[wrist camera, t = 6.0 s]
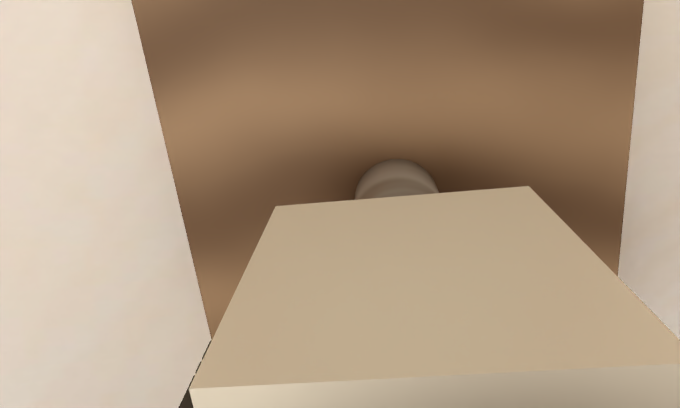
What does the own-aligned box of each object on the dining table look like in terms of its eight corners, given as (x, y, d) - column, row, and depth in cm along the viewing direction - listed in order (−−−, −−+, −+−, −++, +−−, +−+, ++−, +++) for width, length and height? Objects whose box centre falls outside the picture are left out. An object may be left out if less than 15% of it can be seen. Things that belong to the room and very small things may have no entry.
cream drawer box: (528, 185, 11) (711, 372, 5) (522, 393, 13) (651, 699, 7) (275, 206, 11) (184, 399, 6) (306, 404, 13) (260, 700, 8)
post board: (596, 304, 21) (678, 410, 15) (223, 328, 22) (175, 433, 17) (663, -519, 13) (897, -942, 7) (60, -400, 14) (-144, -672, 8)
